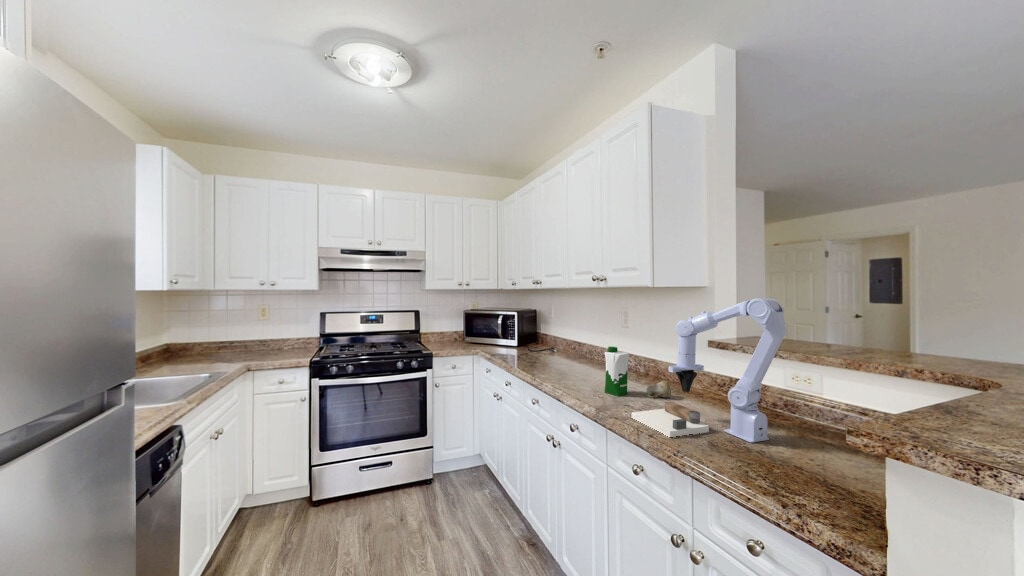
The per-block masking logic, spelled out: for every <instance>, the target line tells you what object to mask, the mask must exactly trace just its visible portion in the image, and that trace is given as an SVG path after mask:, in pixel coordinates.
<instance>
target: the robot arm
mask: <svg viewBox="0 0 1024 576" xmlns="http://www.w3.org/2000/svg"><path fill="white" fill-rule="evenodd" d="M784 312H785V310H784V308H783V307H782V306H781V304H780V303H779V302H778V301H777V300H776V299H774V298H770V297H769V298H768V297H767V298H759V297H756V298H752V299H751V300H745V301H742V302H739V303H736V304H734V305H731V306H728V307H727V308H724V309H722V310H720V311H719V310H718V311H717V312H714V313H713V312H711V311H701V312H700V314H699V315H695V316H689V317H687V318H688V319H687V320H686V319H681V320H680V321H678V322H676V325H675V326H674V327H675V332H676V334H677V335H678V337H677V363H676V364H674V365H669V366H668V372H669V373H672V374H674V373H675V375H676V376H677V377H678V379H679V383H680V387H681V390H682V392H685V393H690V391H691V388H692V385H693V382H694V381H695V378H696V377H697V376H698V373H697V371H702V372H703V371H704V369H705V365H703V364H699V363H698V364H696V351H697V349H696V347H697V346H696V345H697V341H696V340H697V335H698V334H700V333H704V332H706V331H708V330H709V331H710V330H712V329H714V328H717V326H718V324H719V322H720V323H721V322H723V321H726V320H730V319H733V318H736V317H739V316H746V317H749V316H750V317H751V318H752V319H753V320H754V321H756V322H757V323H758V325H759V326H760V328H761V330H762V331H763V333H762V334H761V337H760V338H759V341H758V344H756V347H755V349H754V352H753V354H752V355H751V357H750V360H749V362H748V364H747V366H746V369H745V370H744V372H743V375H742V376H741V377H740V378H739V379H738V381H737V382H736V384H735V385H734V387H731V388H730V389H729V390H728V392H727V399H728V401H729V403H730V427H729V428H727V429H723V432H724V433H727V434H729V435H732V436H734V437H737V438H738V439H741V440H744V441H746V442H749V443H758V442H764V441H769V440H770V438H769V437H768V422H769V421H768V417H767V415H766V414H765V413H763V412H761V411H760V410H759V408H758V404H757V403H758V402H760V400H761V396H762V395H761V390H762V388H763V384H762V382H763V380H764V379H765V376H766V374H767V372H768V370H769V368H770V366H771V364H772V362H773V359H774V358H775V356H776V354H777V351H778V350H779V348H780V346H781V343H782V341H783V340H784V337H785V336H786V333H787V326H786V321H785V316H784Z"/></svg>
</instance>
